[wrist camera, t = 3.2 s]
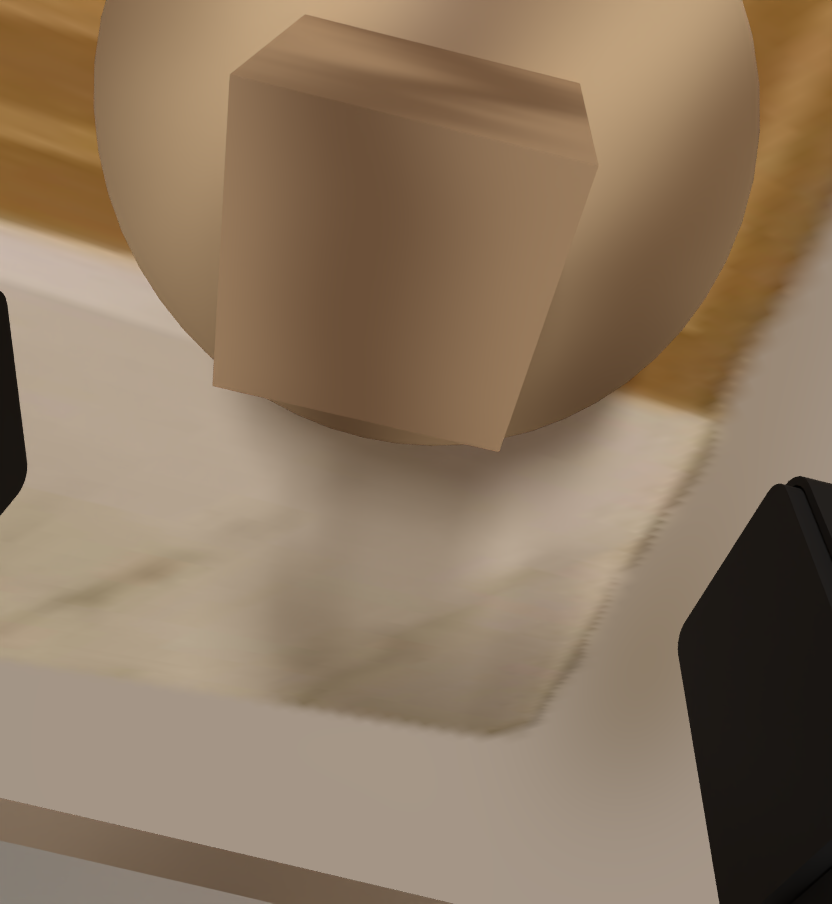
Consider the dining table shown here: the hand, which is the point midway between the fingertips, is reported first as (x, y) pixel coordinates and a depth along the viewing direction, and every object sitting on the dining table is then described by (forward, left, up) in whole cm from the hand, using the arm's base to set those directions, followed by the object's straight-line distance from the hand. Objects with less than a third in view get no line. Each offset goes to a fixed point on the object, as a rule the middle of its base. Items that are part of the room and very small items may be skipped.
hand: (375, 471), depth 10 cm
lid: (0, +1, -11) cm, 10 cm away
